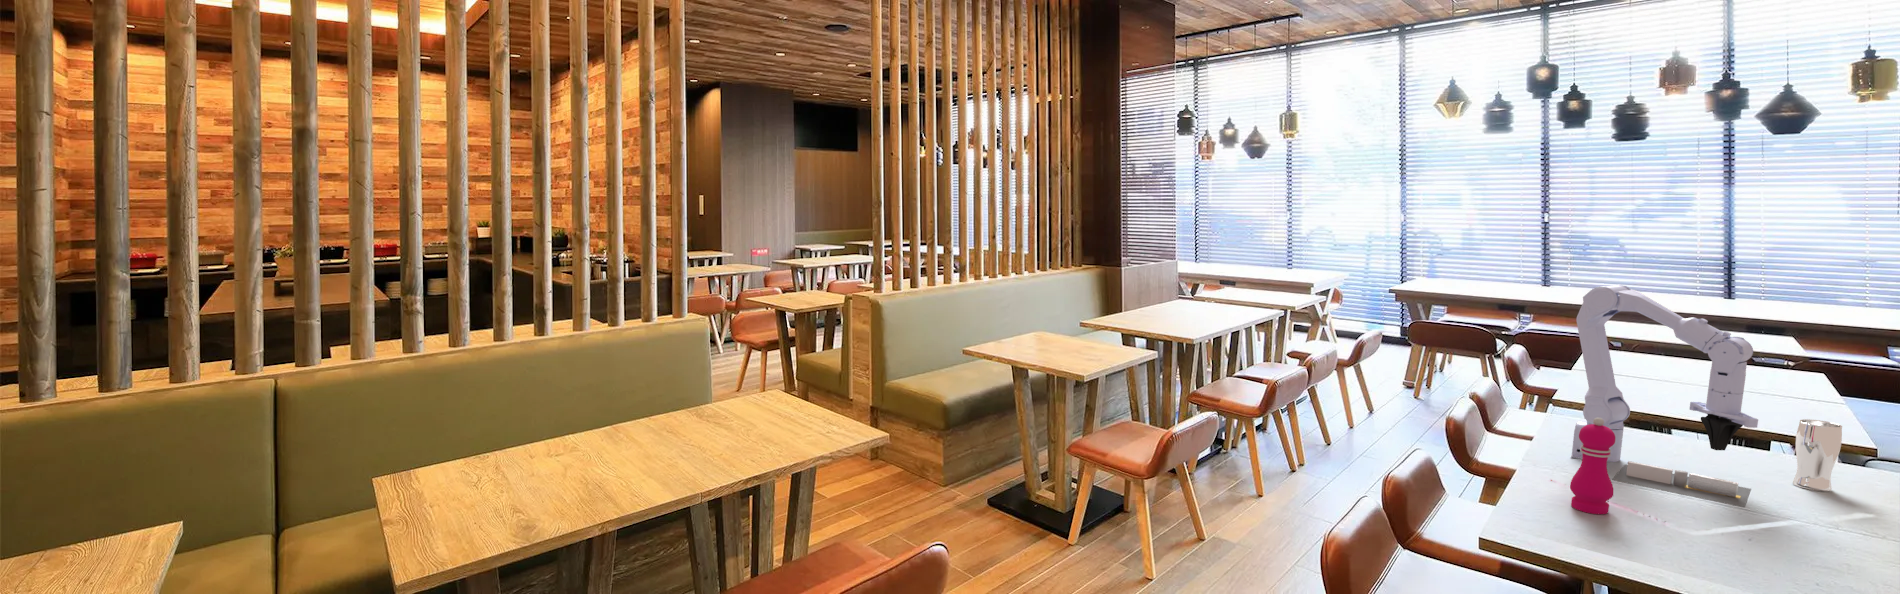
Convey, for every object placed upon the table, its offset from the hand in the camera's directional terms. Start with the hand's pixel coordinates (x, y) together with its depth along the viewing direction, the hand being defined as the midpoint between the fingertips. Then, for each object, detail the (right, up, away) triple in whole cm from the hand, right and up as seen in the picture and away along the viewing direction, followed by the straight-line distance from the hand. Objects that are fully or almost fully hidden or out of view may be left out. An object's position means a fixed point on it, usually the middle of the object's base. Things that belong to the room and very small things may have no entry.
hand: (1717, 449), depth 182 cm
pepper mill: (-38, -11, -11) cm, 41 cm away
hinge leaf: (-5, -9, -4) cm, 11 cm away
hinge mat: (-8, -9, +1) cm, 12 cm away
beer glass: (+23, -9, +1) cm, 24 cm away
